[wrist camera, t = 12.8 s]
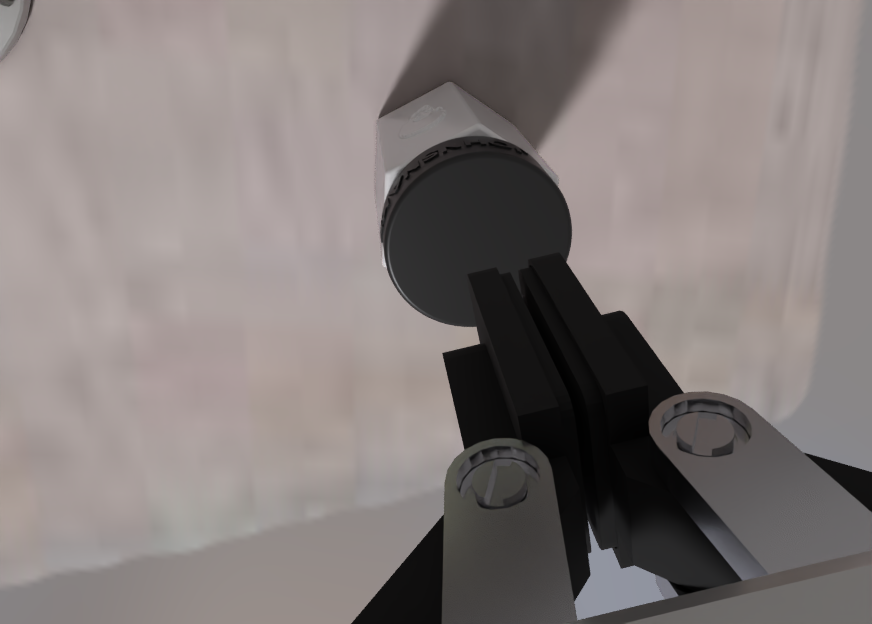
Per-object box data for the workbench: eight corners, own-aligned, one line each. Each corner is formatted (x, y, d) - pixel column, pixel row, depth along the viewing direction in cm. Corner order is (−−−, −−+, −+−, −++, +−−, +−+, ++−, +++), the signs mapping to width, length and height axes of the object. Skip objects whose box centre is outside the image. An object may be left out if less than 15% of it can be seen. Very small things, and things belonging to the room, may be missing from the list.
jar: (484, 56, 35) (542, 108, 25) (538, 184, 39) (607, 275, 29) (339, 134, 37) (337, 214, 26) (406, 250, 41) (427, 360, 30)
